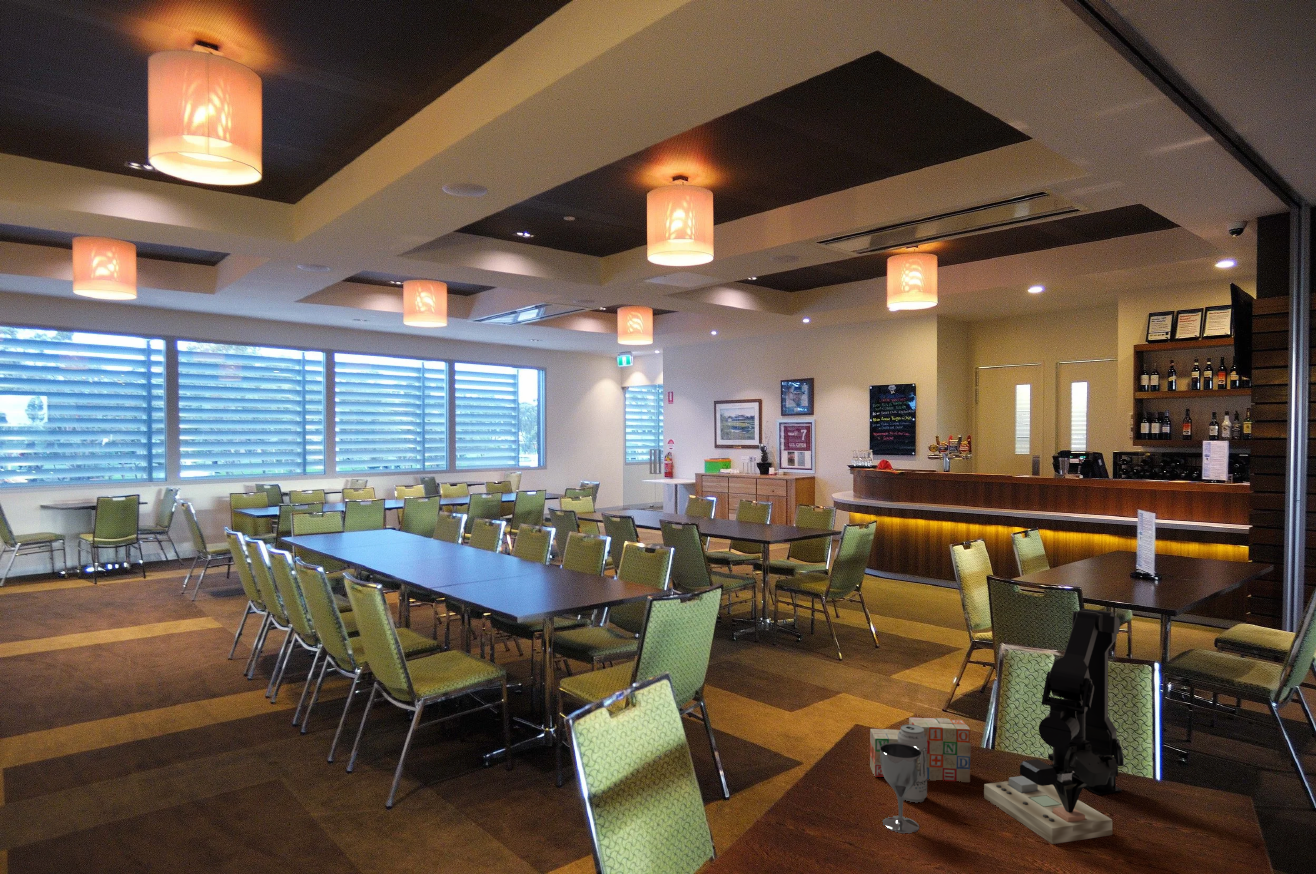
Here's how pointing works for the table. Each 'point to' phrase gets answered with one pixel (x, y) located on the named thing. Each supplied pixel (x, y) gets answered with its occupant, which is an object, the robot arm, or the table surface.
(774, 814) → the table surface
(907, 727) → the energy drink can
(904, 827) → the wine glass
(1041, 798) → the one-dot key
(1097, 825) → the key panel
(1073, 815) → the two-dot key
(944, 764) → the stack of blocks
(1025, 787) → the three-dot key
